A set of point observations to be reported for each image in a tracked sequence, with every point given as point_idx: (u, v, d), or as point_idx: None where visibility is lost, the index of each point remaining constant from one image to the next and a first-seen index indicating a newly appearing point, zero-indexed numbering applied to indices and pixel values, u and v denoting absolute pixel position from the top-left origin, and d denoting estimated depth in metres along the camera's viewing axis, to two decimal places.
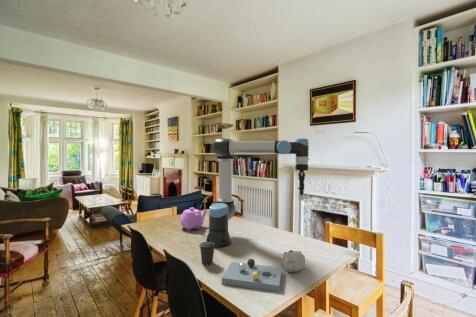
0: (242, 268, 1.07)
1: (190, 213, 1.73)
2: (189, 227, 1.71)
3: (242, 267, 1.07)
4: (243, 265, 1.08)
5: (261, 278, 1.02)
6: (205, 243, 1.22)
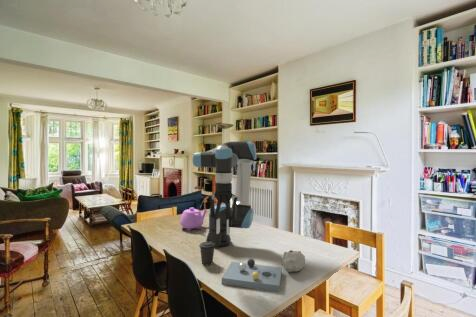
0: (242, 268, 1.07)
1: (190, 213, 1.73)
2: (189, 227, 1.71)
3: (242, 267, 1.07)
4: (243, 265, 1.08)
5: (261, 278, 1.02)
6: (205, 243, 1.22)
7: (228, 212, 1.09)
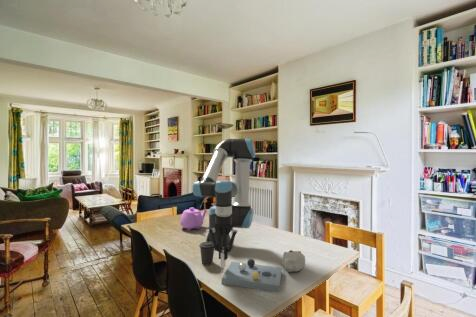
0: (242, 268, 1.07)
1: (190, 213, 1.73)
2: (189, 227, 1.71)
3: (242, 267, 1.07)
4: (243, 265, 1.08)
5: (261, 278, 1.02)
6: (205, 243, 1.22)
7: (225, 245, 1.09)
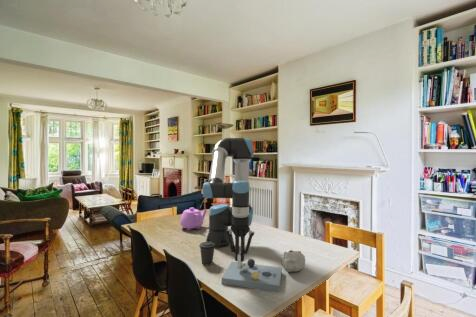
0: (245, 269, 1.07)
1: (190, 213, 1.73)
2: (189, 227, 1.71)
3: (245, 269, 1.07)
4: (247, 268, 1.07)
5: (261, 278, 1.02)
6: (205, 243, 1.22)
7: (242, 246, 1.07)
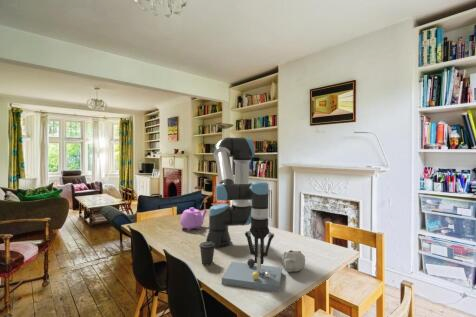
0: None
1: (190, 213, 1.73)
2: (189, 227, 1.71)
3: None
4: None
5: (261, 278, 1.02)
6: (205, 243, 1.22)
7: (261, 249, 1.05)
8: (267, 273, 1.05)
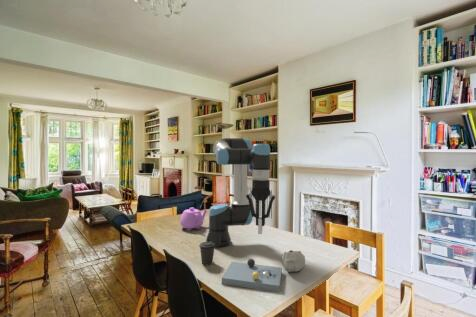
0: None
1: (190, 213, 1.73)
2: (189, 227, 1.71)
3: None
4: (268, 274, 1.05)
5: (261, 278, 1.02)
6: (205, 243, 1.22)
7: (263, 210, 1.05)
8: (264, 273, 1.06)
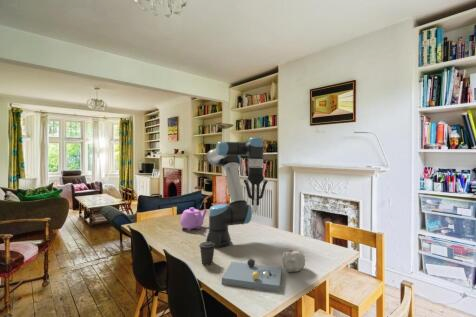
0: None
1: (190, 213, 1.73)
2: (189, 227, 1.71)
3: None
4: (268, 275, 1.05)
5: (261, 278, 1.02)
6: (205, 243, 1.22)
7: (257, 192, 1.28)
8: (264, 273, 1.06)
